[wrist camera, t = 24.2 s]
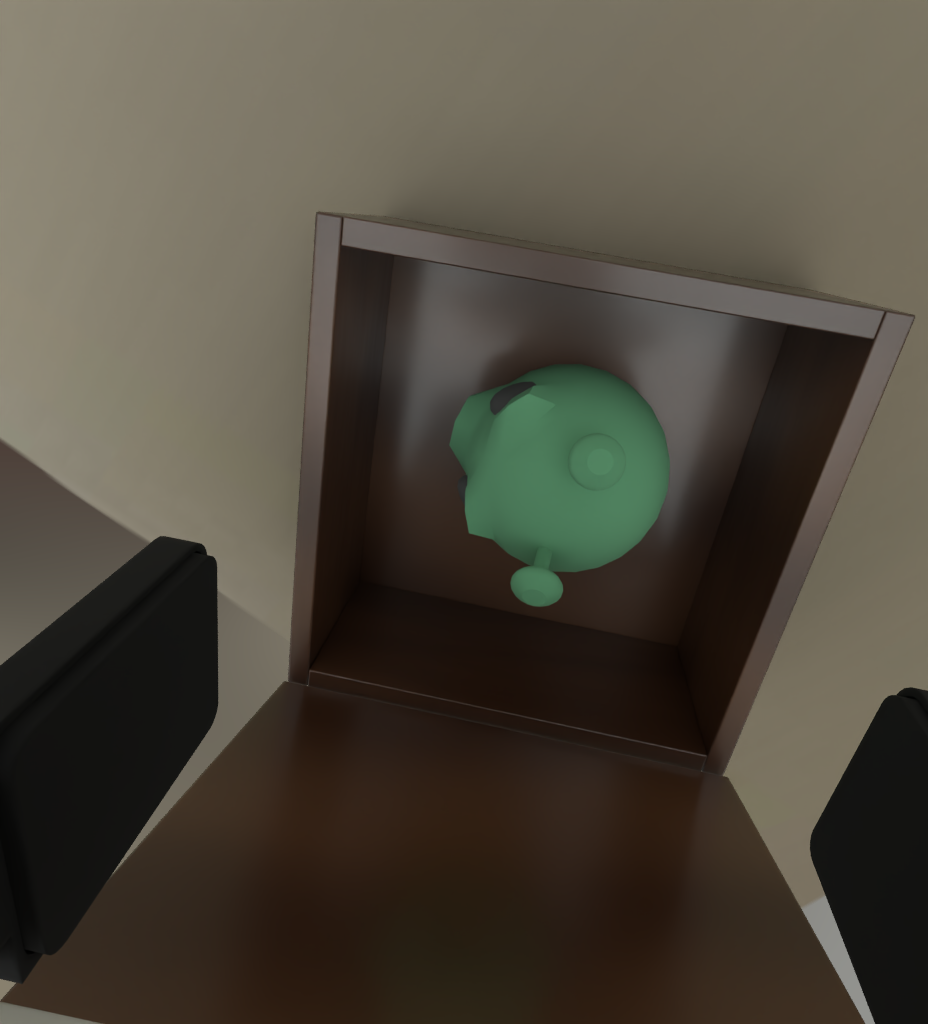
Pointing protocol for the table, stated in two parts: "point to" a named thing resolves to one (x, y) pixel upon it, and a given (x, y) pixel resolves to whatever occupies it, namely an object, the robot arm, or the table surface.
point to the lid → (440, 888)
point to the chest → (589, 593)
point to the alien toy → (560, 472)
